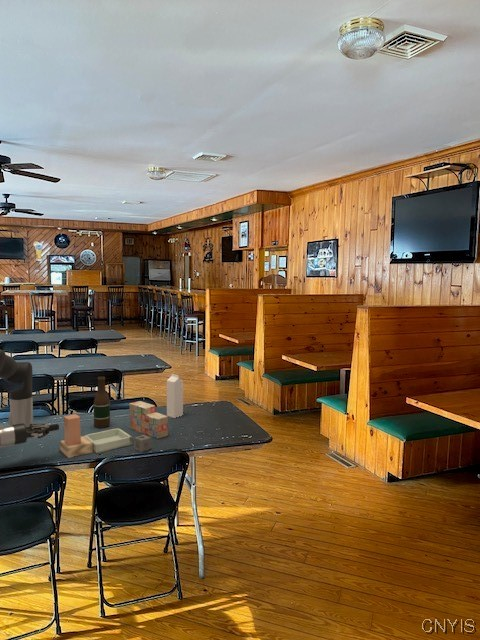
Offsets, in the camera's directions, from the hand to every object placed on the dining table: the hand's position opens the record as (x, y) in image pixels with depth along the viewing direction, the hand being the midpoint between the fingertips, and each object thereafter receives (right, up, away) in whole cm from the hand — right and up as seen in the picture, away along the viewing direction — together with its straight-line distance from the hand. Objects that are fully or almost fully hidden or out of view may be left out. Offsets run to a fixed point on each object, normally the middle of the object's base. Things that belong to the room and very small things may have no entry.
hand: (58, 426), depth 185 cm
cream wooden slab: (+5, -12, +6) cm, 14 cm away
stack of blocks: (+30, -10, +30) cm, 44 cm away
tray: (+16, -11, +14) cm, 24 cm away
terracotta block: (+4, -8, +5) cm, 10 cm away
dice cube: (+32, -12, +10) cm, 35 cm away
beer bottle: (+6, -8, +37) cm, 39 cm away
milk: (+39, -7, +54) cm, 67 cm away
